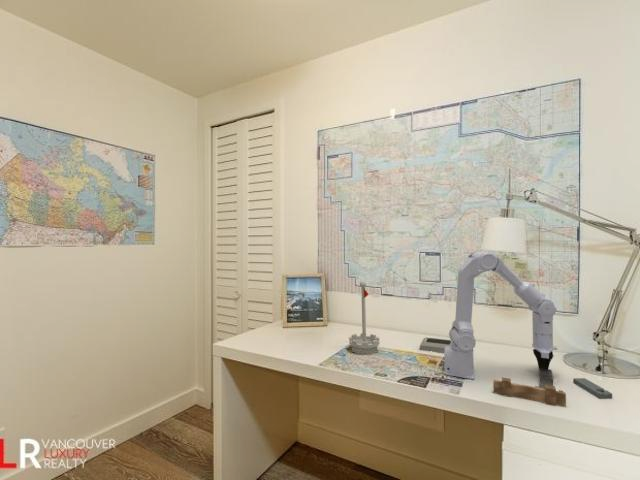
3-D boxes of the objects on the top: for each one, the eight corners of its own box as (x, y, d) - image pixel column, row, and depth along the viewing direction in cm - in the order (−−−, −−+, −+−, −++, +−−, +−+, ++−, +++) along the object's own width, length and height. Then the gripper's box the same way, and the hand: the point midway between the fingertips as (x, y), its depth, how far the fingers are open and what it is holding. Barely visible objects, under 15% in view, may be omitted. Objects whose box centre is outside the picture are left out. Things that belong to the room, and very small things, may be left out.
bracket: (585, 384, 105) (585, 377, 105) (613, 400, 95) (612, 393, 95) (572, 384, 105) (572, 378, 105) (599, 400, 95) (599, 393, 95)
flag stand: (344, 347, 144) (343, 280, 144) (371, 343, 148) (369, 278, 148) (357, 357, 132) (355, 283, 132) (385, 352, 136) (383, 281, 136)
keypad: (457, 347, 132) (419, 342, 138) (457, 355, 132) (419, 351, 138) (458, 340, 140) (423, 336, 147) (459, 348, 140) (423, 344, 147)
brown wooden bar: (493, 393, 99) (493, 378, 99) (494, 386, 104) (493, 372, 104) (566, 407, 90) (566, 391, 90) (563, 399, 95) (563, 384, 95)
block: (540, 390, 101) (539, 376, 101) (539, 380, 108) (538, 367, 108) (553, 392, 99) (553, 379, 99) (551, 382, 106) (551, 369, 106)
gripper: (560, 340, 103) (560, 383, 103) (554, 328, 115) (554, 366, 115) (533, 337, 106) (534, 378, 106) (530, 326, 119) (531, 363, 119)
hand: (543, 372), depth 111 cm, fingers closed
